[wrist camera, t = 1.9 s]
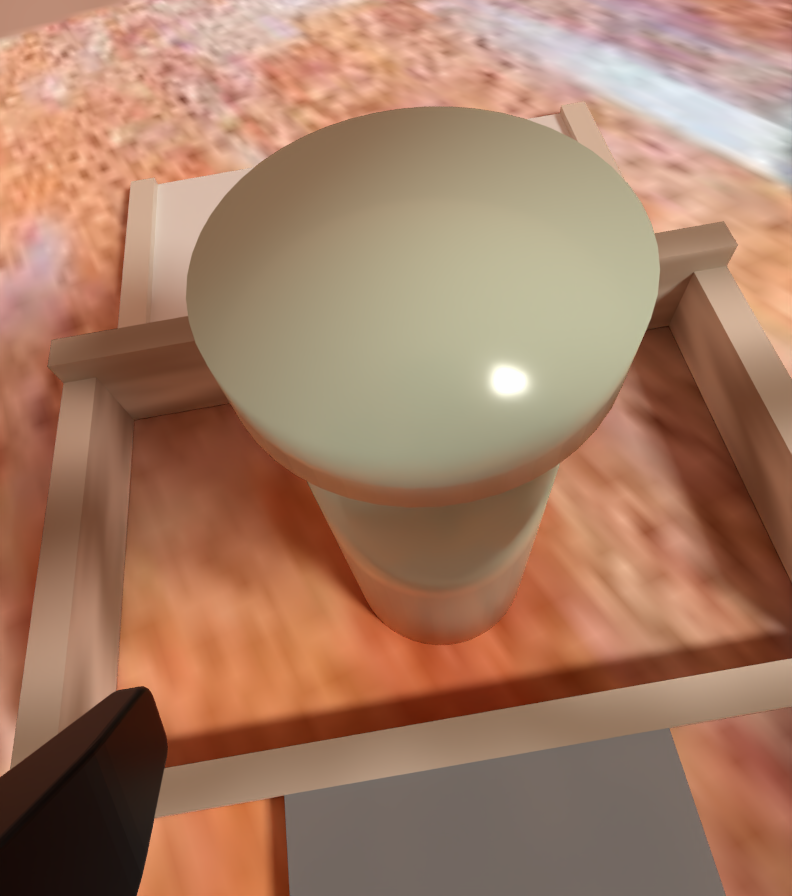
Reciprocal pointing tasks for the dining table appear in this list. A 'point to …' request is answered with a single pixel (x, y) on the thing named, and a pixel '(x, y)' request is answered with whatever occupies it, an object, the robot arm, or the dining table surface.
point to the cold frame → (414, 746)
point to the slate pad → (510, 828)
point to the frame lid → (190, 205)
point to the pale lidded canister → (426, 339)
